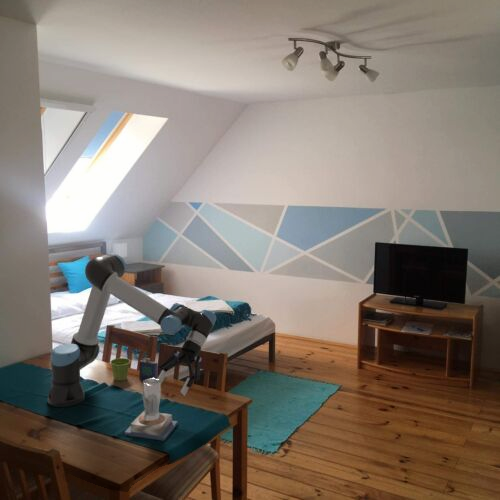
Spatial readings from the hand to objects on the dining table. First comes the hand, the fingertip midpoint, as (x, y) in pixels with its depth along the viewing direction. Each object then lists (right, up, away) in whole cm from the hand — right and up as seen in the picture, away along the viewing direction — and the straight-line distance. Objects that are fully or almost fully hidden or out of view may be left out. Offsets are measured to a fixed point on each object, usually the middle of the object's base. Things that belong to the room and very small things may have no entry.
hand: (169, 389), depth 217 cm
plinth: (-6, -12, -7) cm, 15 cm away
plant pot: (-30, -6, +44) cm, 53 cm away
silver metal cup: (-6, -9, -7) cm, 13 cm away
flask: (-17, -6, +44) cm, 47 cm away
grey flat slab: (-6, -14, -7) cm, 16 cm away
